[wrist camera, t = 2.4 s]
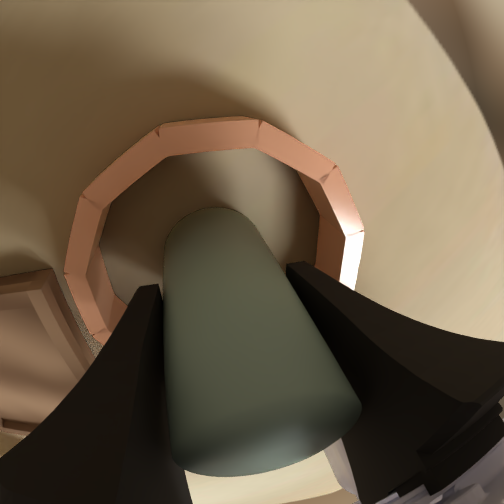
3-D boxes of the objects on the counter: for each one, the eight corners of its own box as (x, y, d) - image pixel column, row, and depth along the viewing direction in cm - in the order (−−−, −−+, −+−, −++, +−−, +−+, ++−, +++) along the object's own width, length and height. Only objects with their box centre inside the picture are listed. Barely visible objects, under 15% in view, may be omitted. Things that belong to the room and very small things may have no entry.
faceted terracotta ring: (321, 324, 15) (338, 352, 13) (125, 358, 13) (123, 392, 11) (342, 116, 10) (375, 123, 8) (57, 145, 8) (30, 158, 6)
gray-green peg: (262, 286, 13) (339, 449, 6) (173, 300, 12) (193, 484, 6) (261, 201, 11) (386, 365, 4) (156, 215, 10) (143, 421, 4)
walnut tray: (137, 423, 17) (138, 441, 15) (5, 417, 14) (2, 431, 13) (52, 268, 10) (40, 289, 9) (-86, 292, 8) (-96, 306, 6)
